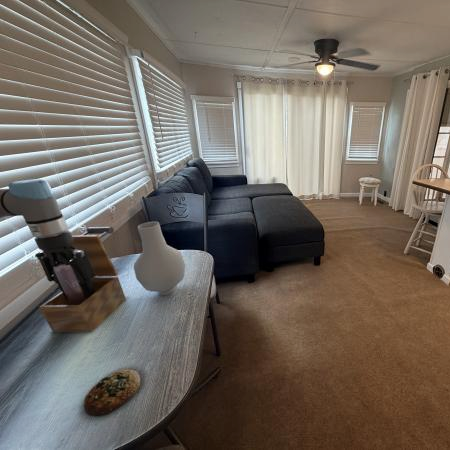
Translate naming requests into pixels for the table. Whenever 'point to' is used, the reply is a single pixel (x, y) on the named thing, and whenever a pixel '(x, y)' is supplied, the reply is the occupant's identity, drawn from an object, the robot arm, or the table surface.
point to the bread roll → (111, 392)
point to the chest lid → (96, 250)
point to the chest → (84, 307)
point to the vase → (158, 261)
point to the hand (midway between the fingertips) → (81, 297)
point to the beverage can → (70, 283)
